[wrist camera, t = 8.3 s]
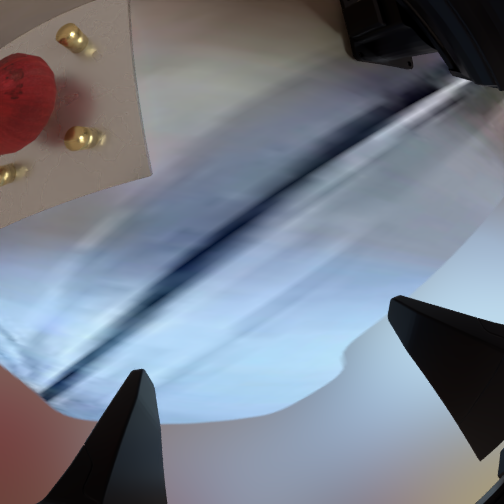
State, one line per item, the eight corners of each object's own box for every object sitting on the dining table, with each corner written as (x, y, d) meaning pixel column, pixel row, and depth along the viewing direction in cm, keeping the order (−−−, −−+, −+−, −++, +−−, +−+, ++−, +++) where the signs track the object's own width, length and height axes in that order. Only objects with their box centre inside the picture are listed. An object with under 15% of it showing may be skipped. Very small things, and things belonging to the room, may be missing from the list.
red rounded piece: (29, 61, 10) (-37, 36, 3) (89, 75, 12) (31, 39, 5) (-1, 139, 11) (-75, 151, 4) (54, 159, 14) (-19, 179, 6)
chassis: (129, -4, 11) (121, -27, 8) (152, 174, 17) (145, 181, 14) (-22, 71, 9) (-45, 67, 6) (-1, 228, 15) (-24, 243, 11)
